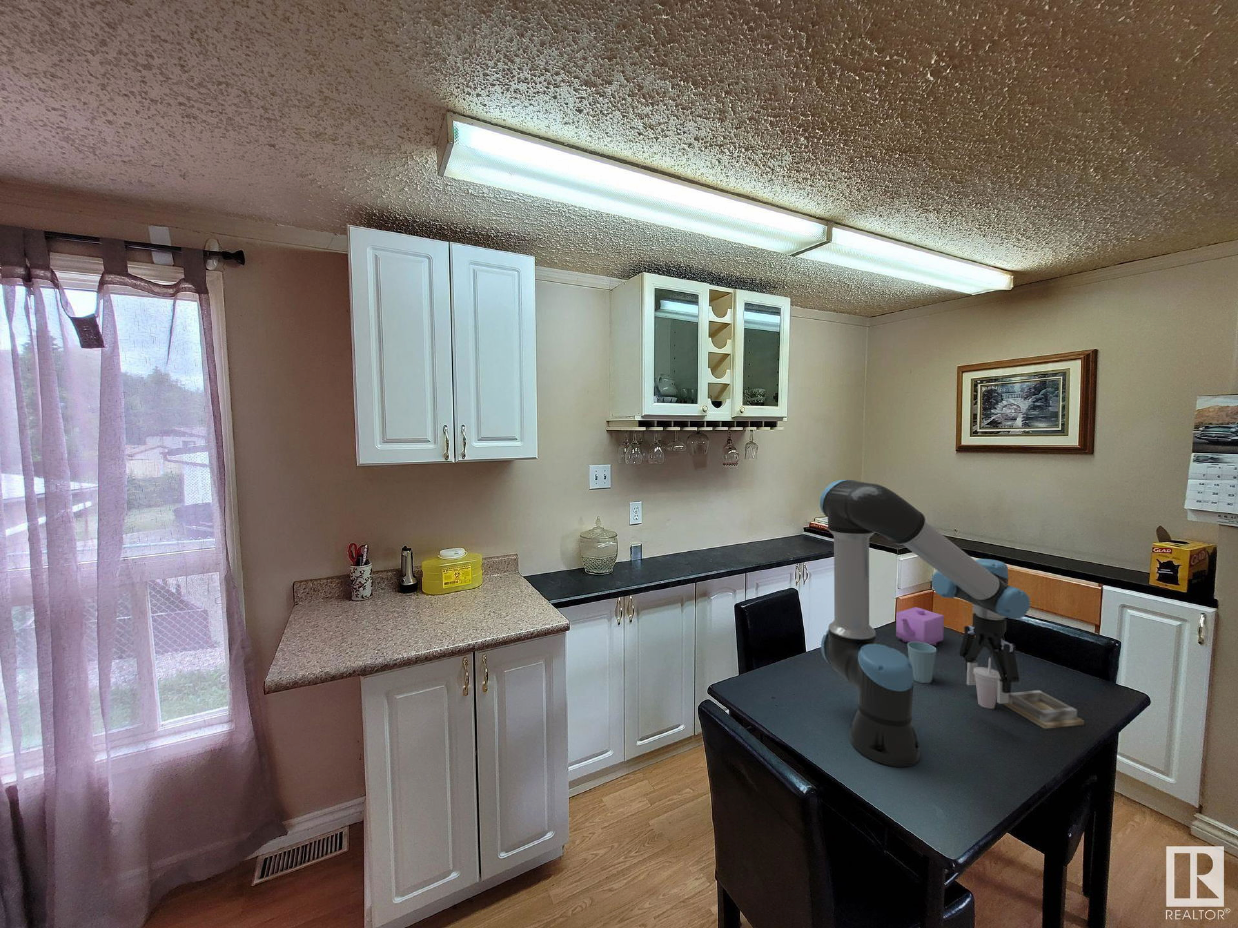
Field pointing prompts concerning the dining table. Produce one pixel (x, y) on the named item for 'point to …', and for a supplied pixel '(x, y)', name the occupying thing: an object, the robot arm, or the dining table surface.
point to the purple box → (919, 626)
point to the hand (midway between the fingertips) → (986, 692)
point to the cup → (922, 660)
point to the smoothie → (986, 685)
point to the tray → (1043, 709)
